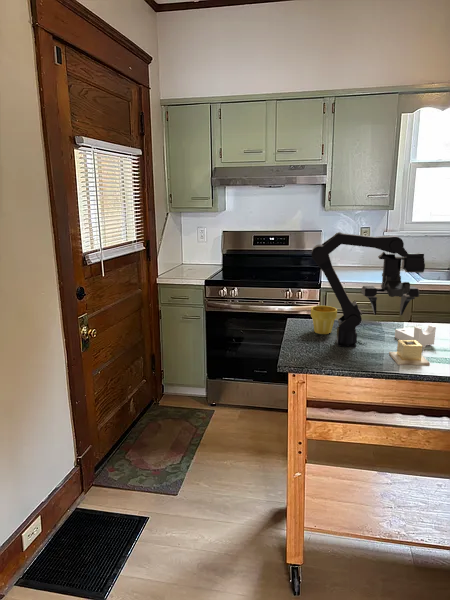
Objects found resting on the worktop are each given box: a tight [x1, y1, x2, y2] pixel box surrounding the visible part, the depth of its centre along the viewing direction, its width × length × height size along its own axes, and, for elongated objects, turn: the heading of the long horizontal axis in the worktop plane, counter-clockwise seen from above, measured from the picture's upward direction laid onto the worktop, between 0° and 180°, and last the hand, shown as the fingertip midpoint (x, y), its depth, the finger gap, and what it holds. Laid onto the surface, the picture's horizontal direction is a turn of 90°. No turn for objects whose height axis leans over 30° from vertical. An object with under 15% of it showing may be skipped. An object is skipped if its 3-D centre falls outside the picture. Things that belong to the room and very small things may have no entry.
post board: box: [388, 342, 431, 366], centre depth 151 cm, size 10×10×6 cm
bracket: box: [394, 324, 437, 348], centre depth 169 cm, size 13×7×8 cm, turn 17°
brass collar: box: [396, 339, 423, 360], centre depth 151 cm, size 6×6×5 cm
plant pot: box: [310, 305, 338, 335], centre depth 181 cm, size 10×10×10 cm
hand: (388, 314), depth 161 cm, fingers open, 9 cm apart
